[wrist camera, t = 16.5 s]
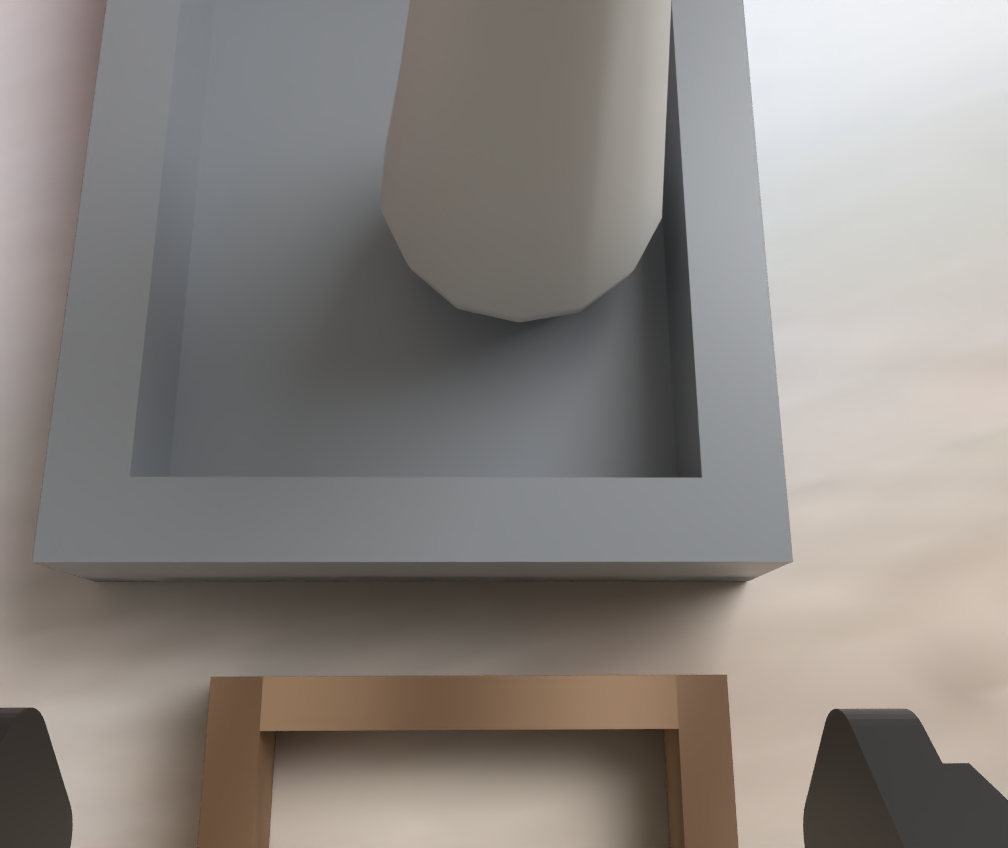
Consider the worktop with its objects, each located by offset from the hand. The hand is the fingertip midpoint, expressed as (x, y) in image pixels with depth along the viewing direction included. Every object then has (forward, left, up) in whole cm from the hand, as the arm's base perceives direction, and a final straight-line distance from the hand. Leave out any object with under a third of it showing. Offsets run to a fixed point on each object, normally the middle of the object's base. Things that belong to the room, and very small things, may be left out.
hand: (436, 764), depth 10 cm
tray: (+1, -12, -10) cm, 16 cm away
